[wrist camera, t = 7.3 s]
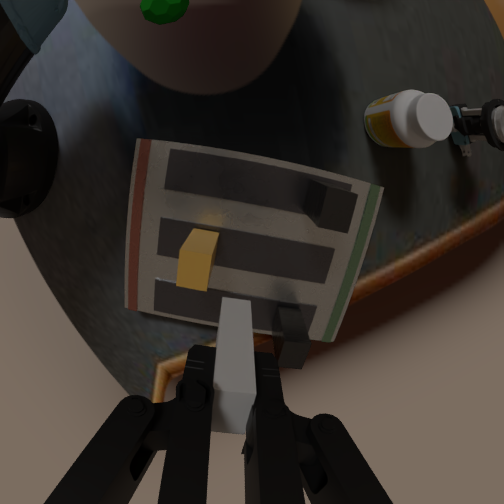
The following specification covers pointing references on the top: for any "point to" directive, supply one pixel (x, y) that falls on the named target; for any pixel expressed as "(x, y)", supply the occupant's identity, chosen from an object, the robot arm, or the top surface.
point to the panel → (248, 240)
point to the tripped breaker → (197, 259)
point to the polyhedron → (163, 10)
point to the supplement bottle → (408, 119)
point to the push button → (478, 125)
